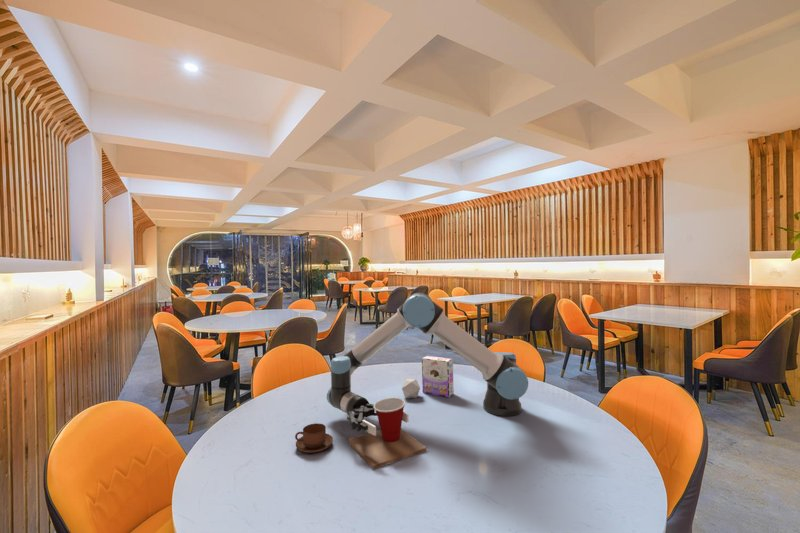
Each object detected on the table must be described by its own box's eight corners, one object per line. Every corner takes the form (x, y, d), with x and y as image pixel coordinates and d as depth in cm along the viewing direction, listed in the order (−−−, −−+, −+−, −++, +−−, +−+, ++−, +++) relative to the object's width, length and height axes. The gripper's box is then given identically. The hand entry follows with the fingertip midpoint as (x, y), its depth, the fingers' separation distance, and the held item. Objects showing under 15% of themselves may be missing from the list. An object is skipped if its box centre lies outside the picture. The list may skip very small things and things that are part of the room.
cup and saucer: (299, 460, 108) (299, 440, 108) (292, 443, 119) (292, 425, 119) (337, 450, 113) (337, 431, 114) (327, 435, 124) (327, 417, 124)
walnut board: (396, 428, 128) (396, 425, 128) (426, 450, 112) (426, 447, 112) (347, 442, 119) (347, 439, 119) (373, 469, 102) (373, 465, 102)
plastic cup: (373, 432, 123) (371, 398, 123) (403, 429, 125) (402, 395, 125) (376, 448, 112) (374, 411, 112) (409, 444, 114) (407, 407, 114)
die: (414, 403, 154) (425, 383, 157) (397, 392, 155) (408, 373, 158) (413, 403, 161) (423, 384, 164) (397, 393, 163) (407, 374, 166)
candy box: (454, 394, 163) (453, 358, 163) (448, 398, 158) (448, 361, 158) (427, 388, 170) (427, 354, 170) (421, 392, 165) (421, 357, 165)
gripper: (382, 406, 137) (419, 424, 121) (324, 426, 121) (360, 449, 105) (381, 387, 137) (419, 402, 121) (324, 404, 121) (359, 424, 105)
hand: (392, 424), depth 113 cm, fingers open, 13 cm apart
